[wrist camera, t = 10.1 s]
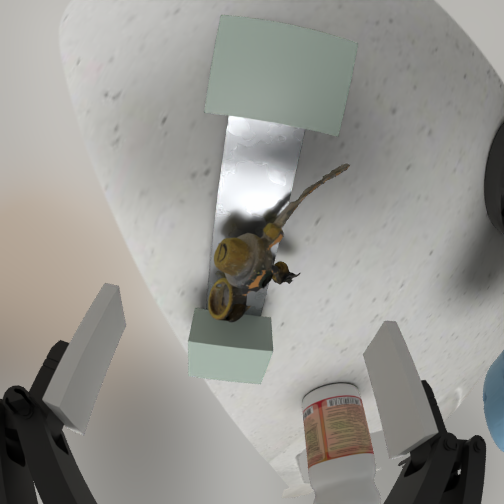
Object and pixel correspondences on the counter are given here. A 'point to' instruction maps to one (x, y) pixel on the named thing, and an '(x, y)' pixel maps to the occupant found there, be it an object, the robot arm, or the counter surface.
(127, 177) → the counter surface
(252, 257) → the regulator
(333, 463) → the fruit juice
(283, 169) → the rail
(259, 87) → the mounted modules
